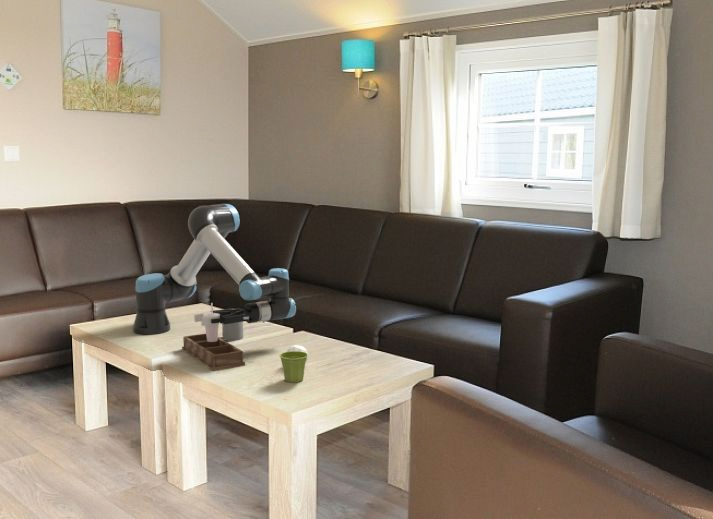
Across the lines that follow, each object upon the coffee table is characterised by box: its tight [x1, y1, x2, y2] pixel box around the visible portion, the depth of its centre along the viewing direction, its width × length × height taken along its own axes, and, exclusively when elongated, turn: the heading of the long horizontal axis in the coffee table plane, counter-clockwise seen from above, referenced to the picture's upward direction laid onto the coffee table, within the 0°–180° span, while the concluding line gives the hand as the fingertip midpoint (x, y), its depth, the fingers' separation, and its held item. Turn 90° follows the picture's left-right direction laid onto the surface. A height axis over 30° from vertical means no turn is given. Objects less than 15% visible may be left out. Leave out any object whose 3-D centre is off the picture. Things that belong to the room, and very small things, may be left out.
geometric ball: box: [286, 344, 309, 364], centre depth 257 cm, size 8×8×8 cm
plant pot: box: [279, 351, 309, 383], centre depth 242 cm, size 9×9×9 cm
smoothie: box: [203, 302, 220, 342], centre depth 267 cm, size 6×6×14 cm
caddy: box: [181, 332, 246, 371], centre depth 269 cm, size 32×12×5 cm, turn 32°
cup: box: [221, 322, 244, 342], centre depth 295 cm, size 8×8×10 cm
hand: (198, 320), depth 264 cm, fingers closed on smoothie, 6 cm apart
